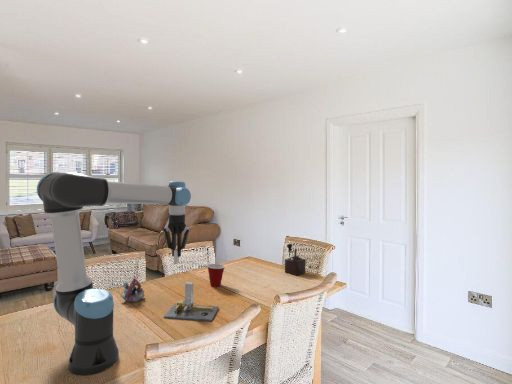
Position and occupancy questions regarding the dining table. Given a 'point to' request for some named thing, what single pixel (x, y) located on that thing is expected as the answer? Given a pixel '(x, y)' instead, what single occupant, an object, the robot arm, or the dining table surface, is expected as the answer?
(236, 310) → the dining table surface
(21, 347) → the dining table surface
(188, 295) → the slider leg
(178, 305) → the gauge rail
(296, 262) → the dark box with lever
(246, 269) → the dining table surface
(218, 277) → the plastic cup
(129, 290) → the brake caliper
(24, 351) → the dining table surface
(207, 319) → the bolt plate
